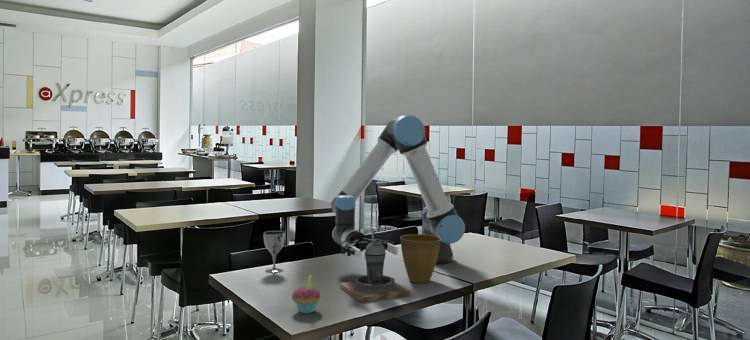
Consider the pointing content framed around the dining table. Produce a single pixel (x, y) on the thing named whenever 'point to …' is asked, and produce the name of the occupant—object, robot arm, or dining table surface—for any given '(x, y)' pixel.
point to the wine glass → (274, 246)
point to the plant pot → (420, 256)
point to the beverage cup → (374, 261)
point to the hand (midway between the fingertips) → (378, 252)
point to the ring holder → (374, 289)
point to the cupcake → (306, 298)
